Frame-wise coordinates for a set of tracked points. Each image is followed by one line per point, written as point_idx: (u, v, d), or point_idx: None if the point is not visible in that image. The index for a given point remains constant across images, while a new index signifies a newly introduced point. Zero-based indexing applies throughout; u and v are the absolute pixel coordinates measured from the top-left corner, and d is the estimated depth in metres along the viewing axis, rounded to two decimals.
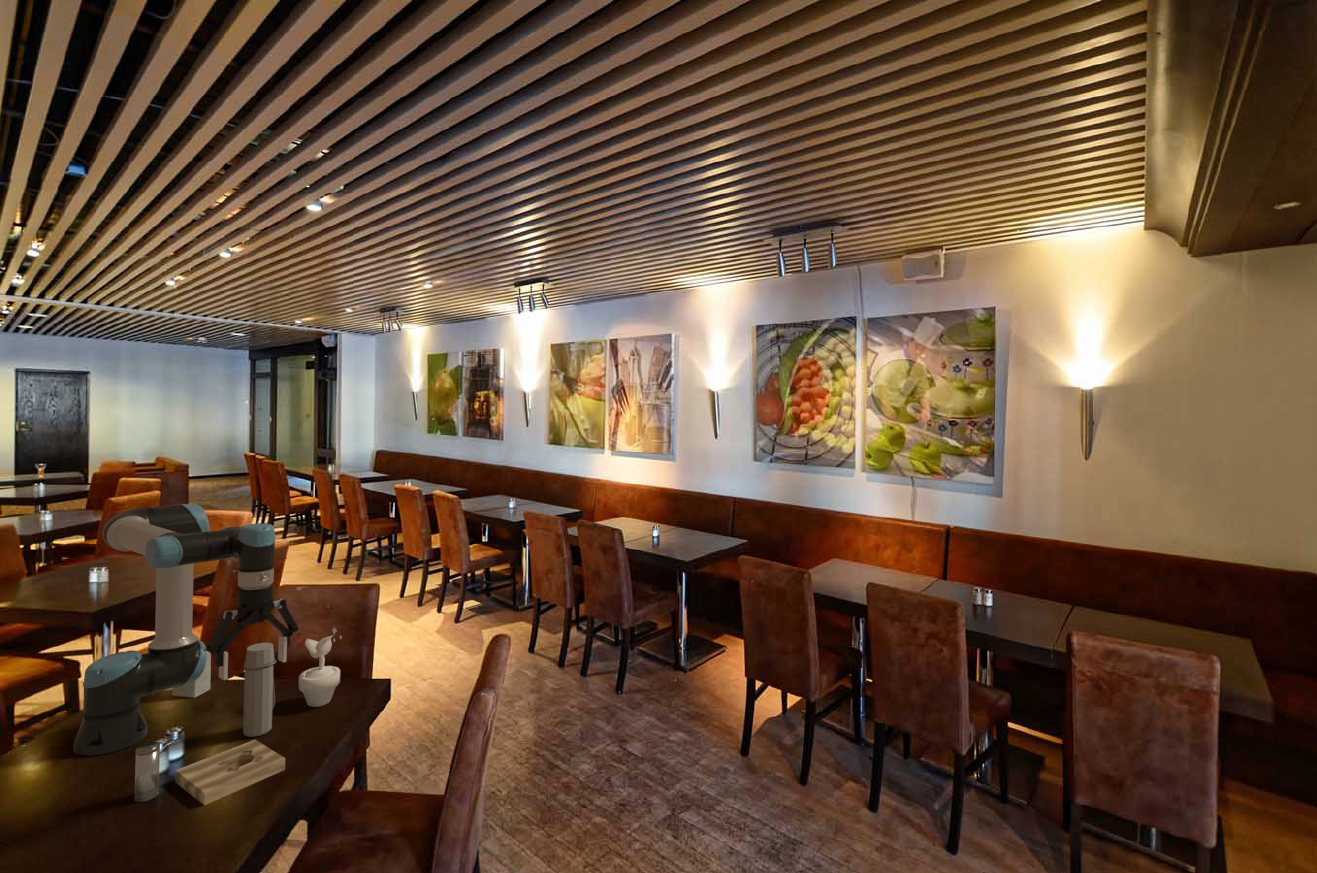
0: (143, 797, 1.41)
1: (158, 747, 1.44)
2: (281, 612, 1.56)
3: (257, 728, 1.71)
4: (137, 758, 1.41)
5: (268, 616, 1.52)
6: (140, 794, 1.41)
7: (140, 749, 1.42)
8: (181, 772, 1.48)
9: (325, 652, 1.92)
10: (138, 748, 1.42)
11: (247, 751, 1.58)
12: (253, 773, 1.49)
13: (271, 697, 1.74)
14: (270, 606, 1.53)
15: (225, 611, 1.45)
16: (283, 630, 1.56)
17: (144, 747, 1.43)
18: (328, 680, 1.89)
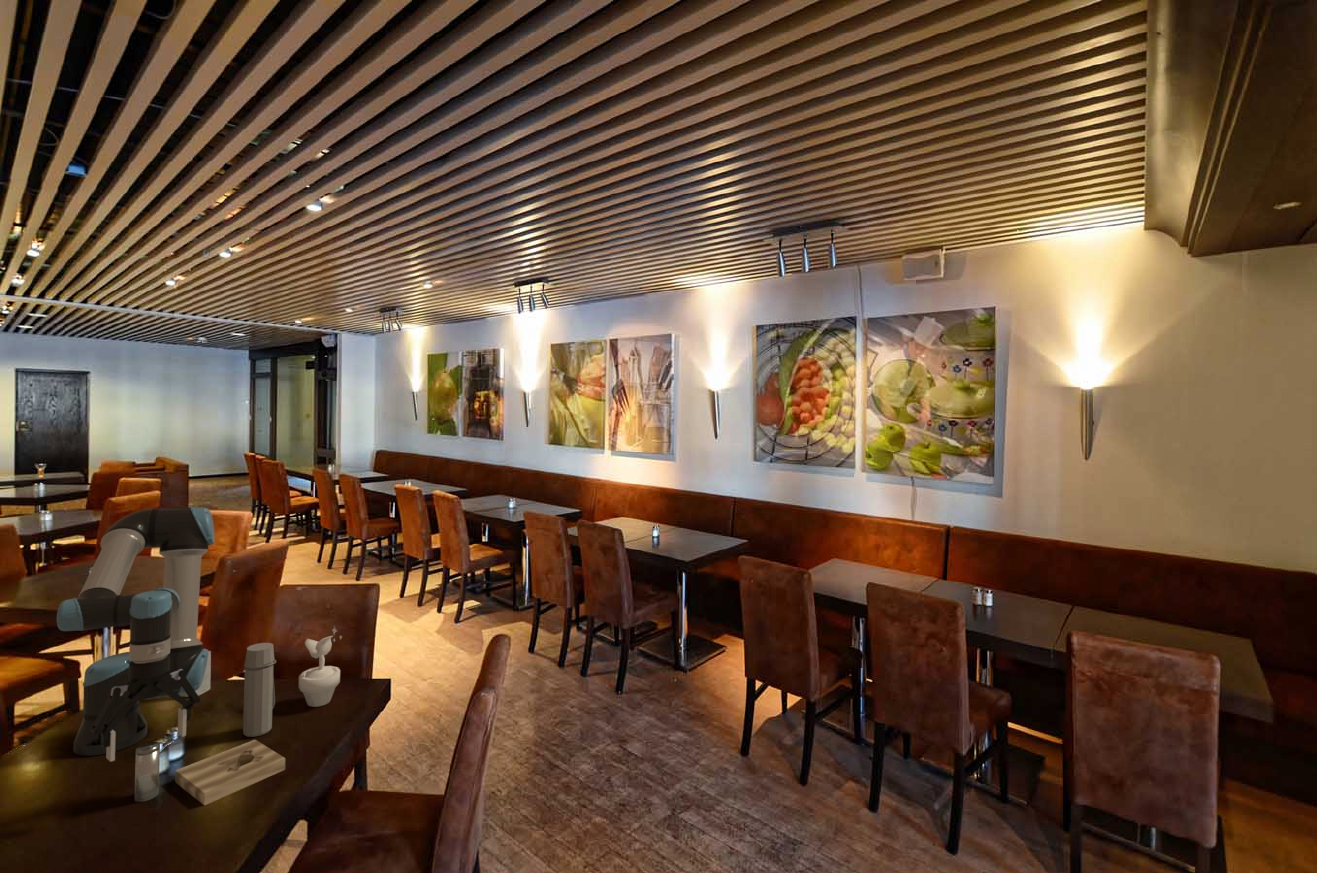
0: (143, 797, 1.41)
1: (158, 747, 1.44)
2: (180, 683, 1.48)
3: (257, 728, 1.71)
4: (137, 758, 1.41)
5: (163, 689, 1.44)
6: (140, 794, 1.41)
7: (140, 749, 1.42)
8: (181, 772, 1.48)
9: (325, 652, 1.92)
10: (138, 748, 1.42)
11: (247, 751, 1.58)
12: (253, 773, 1.49)
13: (271, 697, 1.74)
14: (166, 678, 1.45)
15: (113, 687, 1.37)
16: (182, 703, 1.47)
17: (144, 747, 1.43)
18: (328, 680, 1.89)
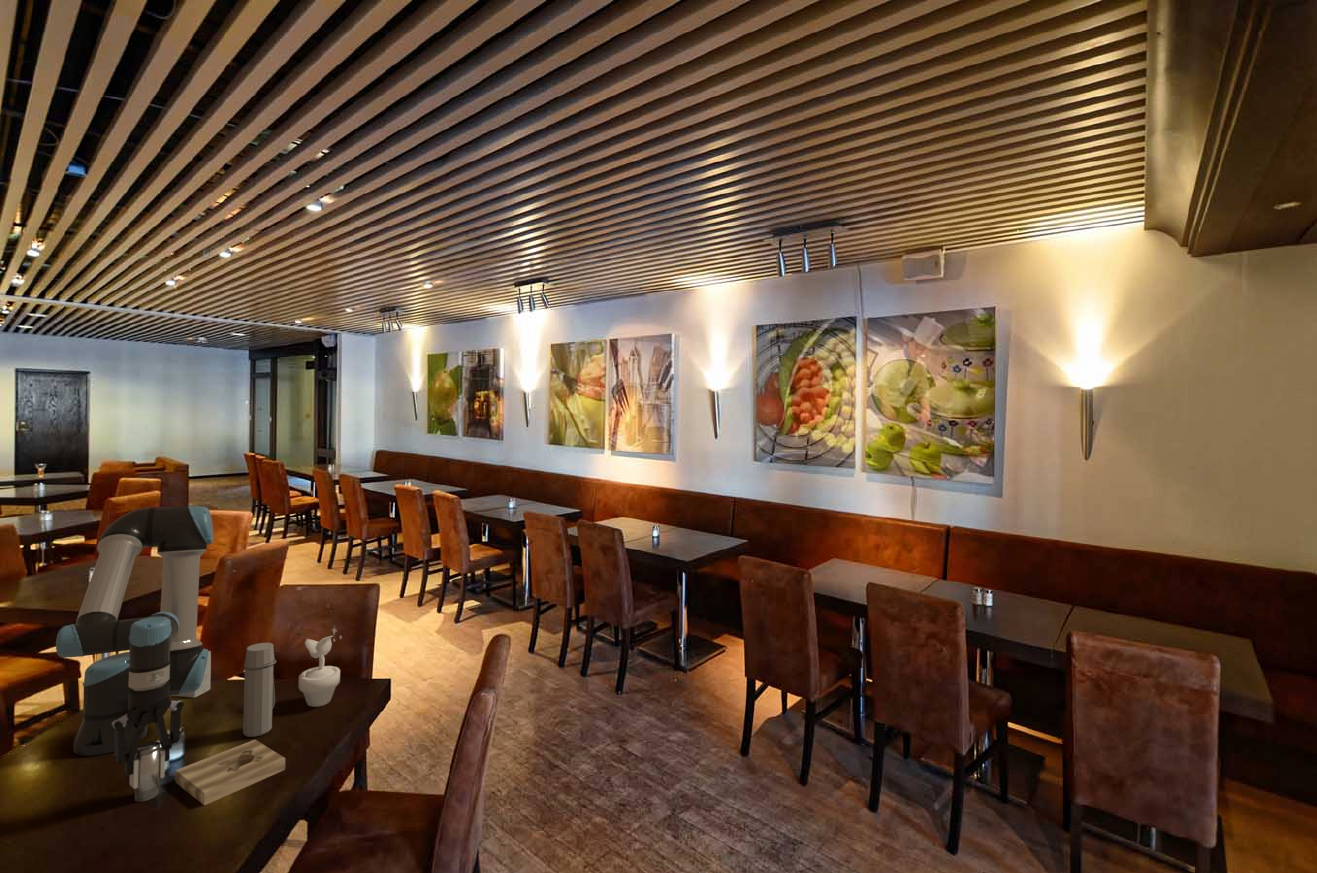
0: (143, 797, 1.41)
1: (158, 747, 1.44)
2: (172, 716, 1.47)
3: (257, 728, 1.71)
4: (137, 758, 1.41)
5: (159, 718, 1.43)
6: (140, 794, 1.41)
7: (140, 749, 1.42)
8: (181, 772, 1.48)
9: (325, 652, 1.92)
10: (138, 748, 1.42)
11: (247, 751, 1.58)
12: (253, 773, 1.49)
13: (271, 697, 1.74)
14: (166, 704, 1.45)
15: (112, 722, 1.38)
16: (164, 740, 1.45)
17: (144, 747, 1.43)
18: (328, 680, 1.89)
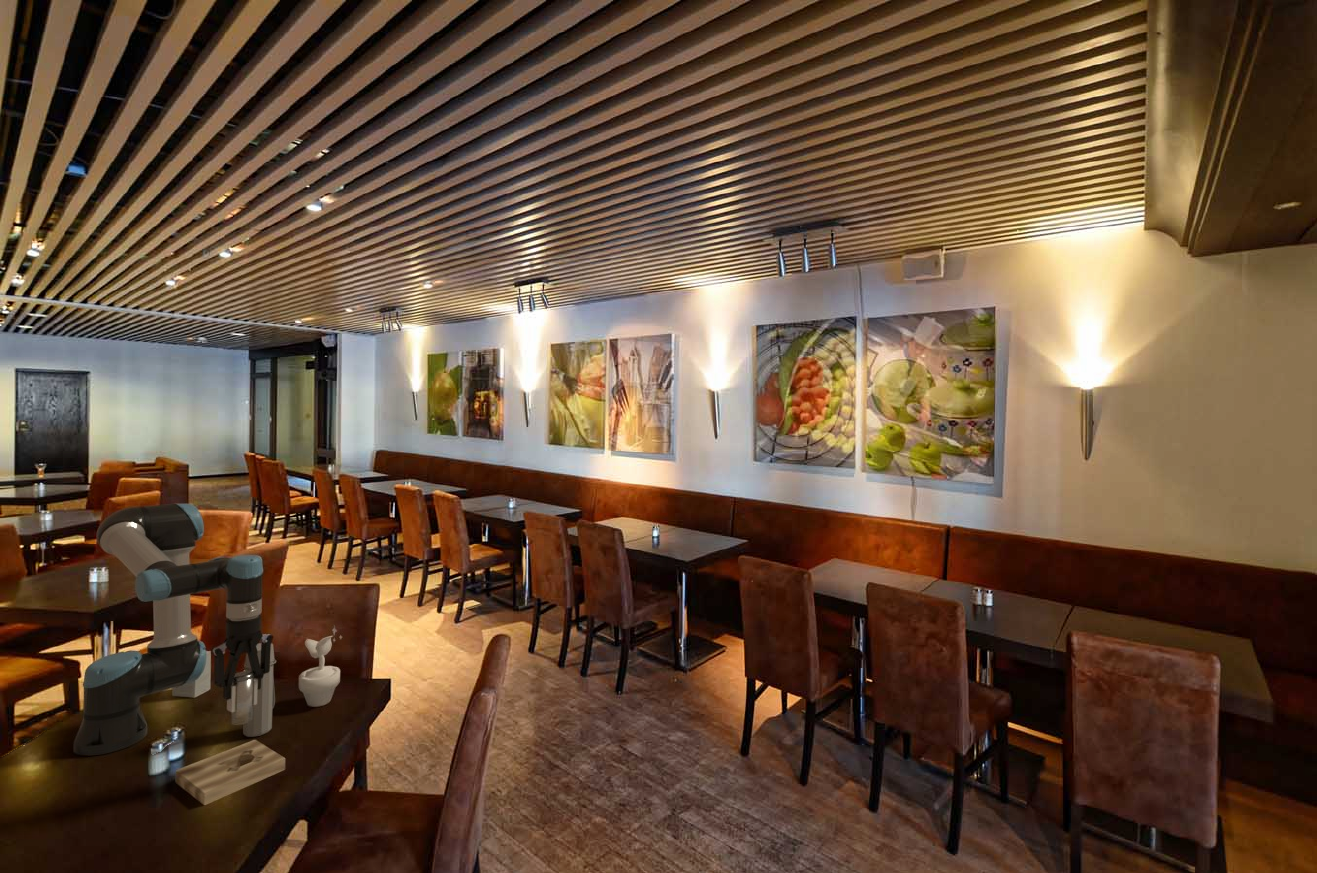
0: (240, 721, 1.52)
1: (252, 675, 1.54)
2: (263, 648, 1.58)
3: (257, 728, 1.71)
4: (234, 684, 1.51)
5: (252, 648, 1.54)
6: (237, 718, 1.51)
7: (236, 676, 1.52)
8: (181, 772, 1.48)
9: (325, 652, 1.92)
10: None
11: (247, 751, 1.58)
12: (253, 773, 1.49)
13: (271, 697, 1.74)
14: (258, 636, 1.55)
15: (213, 649, 1.48)
16: (257, 669, 1.55)
17: (240, 675, 1.53)
18: (328, 680, 1.89)
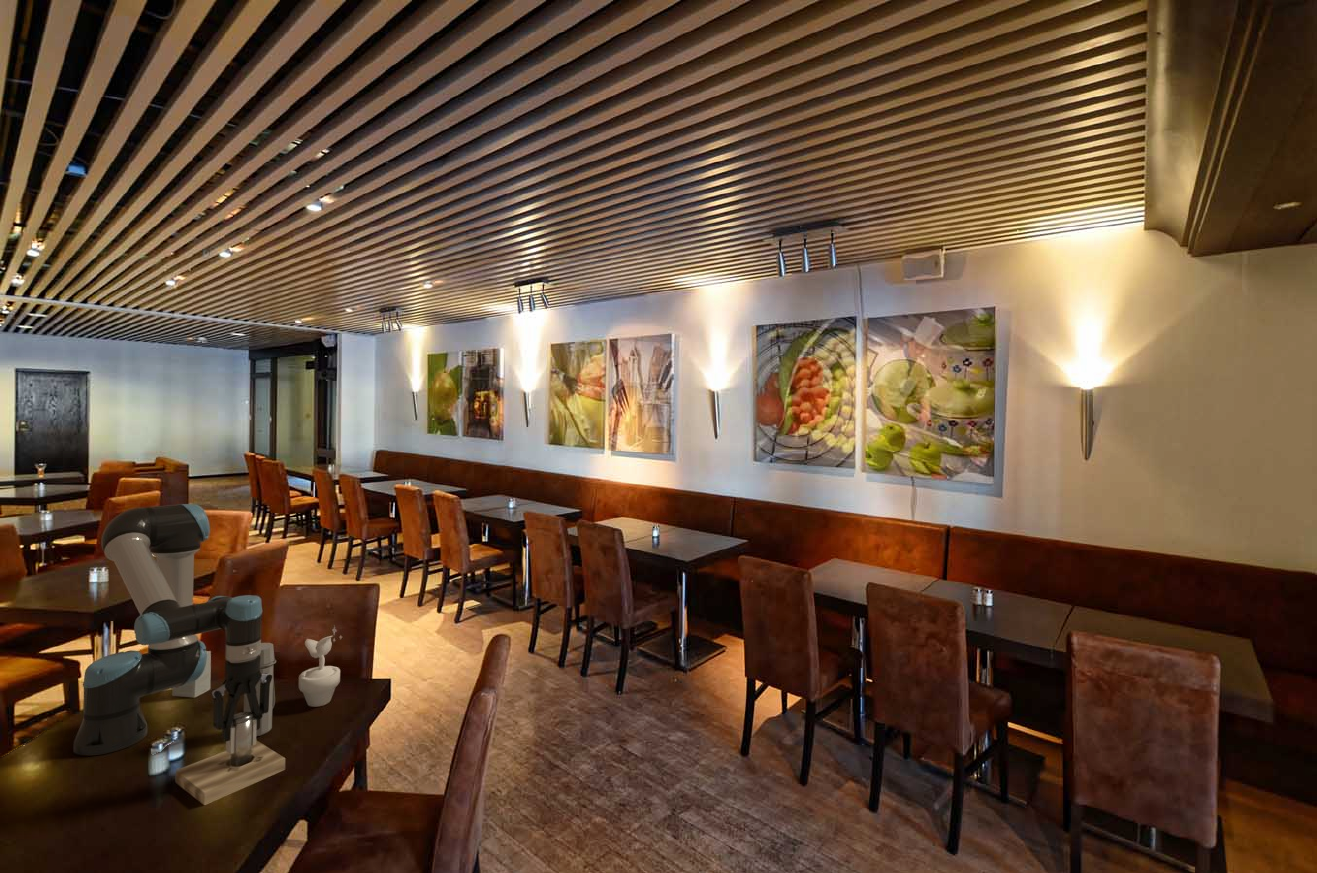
0: (239, 762, 1.52)
1: (251, 716, 1.54)
2: (262, 687, 1.58)
3: None
4: (233, 726, 1.52)
5: (251, 689, 1.54)
6: (236, 760, 1.52)
7: (235, 718, 1.52)
8: (181, 772, 1.48)
9: (325, 652, 1.92)
10: None
11: None
12: (253, 773, 1.49)
13: (271, 697, 1.74)
14: (257, 676, 1.56)
15: (212, 692, 1.48)
16: (255, 710, 1.55)
17: (239, 716, 1.53)
18: (328, 680, 1.89)
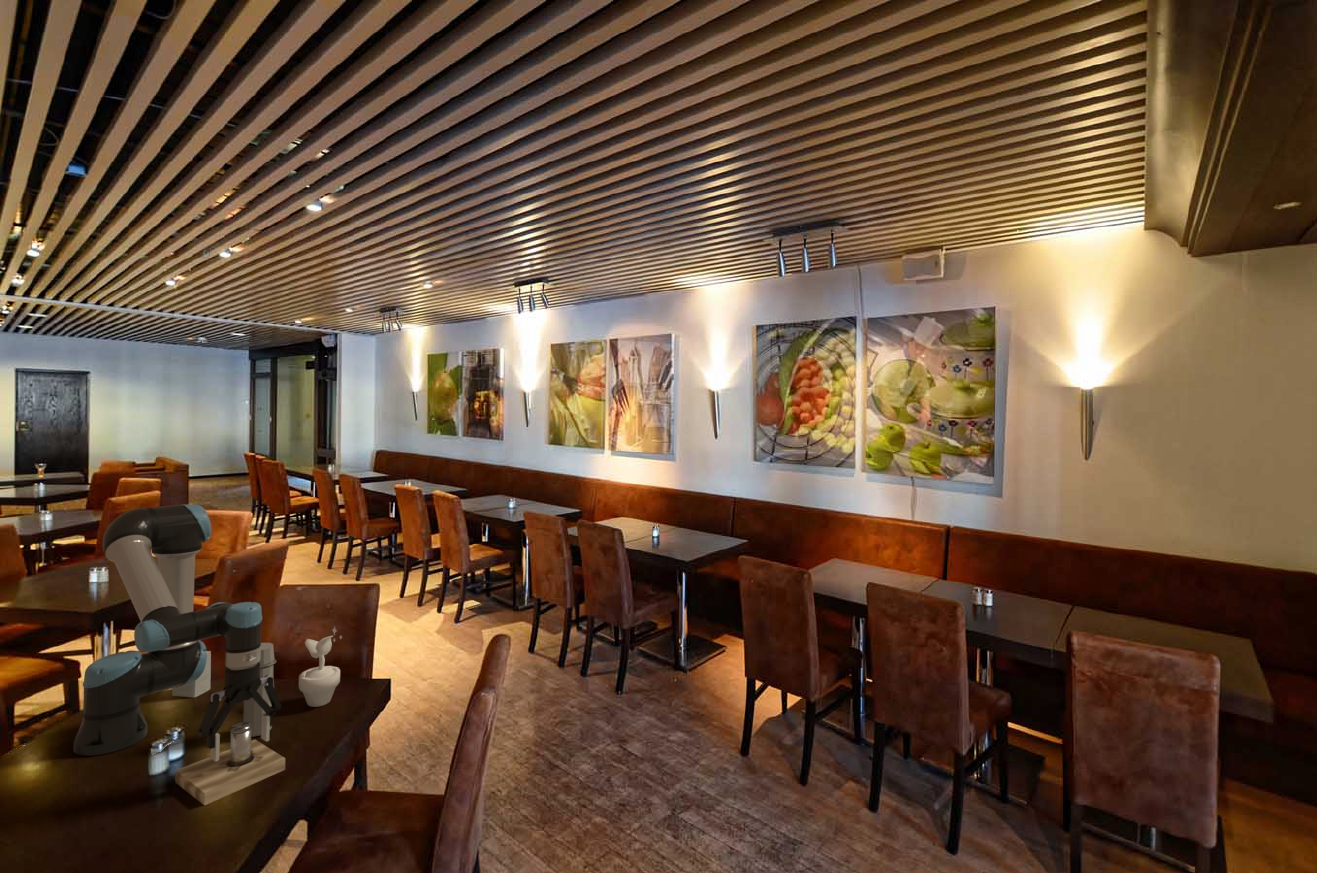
0: None
1: (250, 727, 1.54)
2: (267, 689, 1.59)
3: (257, 728, 1.71)
4: (232, 737, 1.52)
5: (254, 694, 1.55)
6: None
7: (235, 728, 1.52)
8: (181, 772, 1.48)
9: (325, 652, 1.92)
10: (233, 727, 1.53)
11: None
12: (253, 773, 1.49)
13: None
14: (257, 683, 1.56)
15: (212, 694, 1.48)
16: (266, 709, 1.58)
17: (238, 727, 1.53)
18: (328, 680, 1.89)
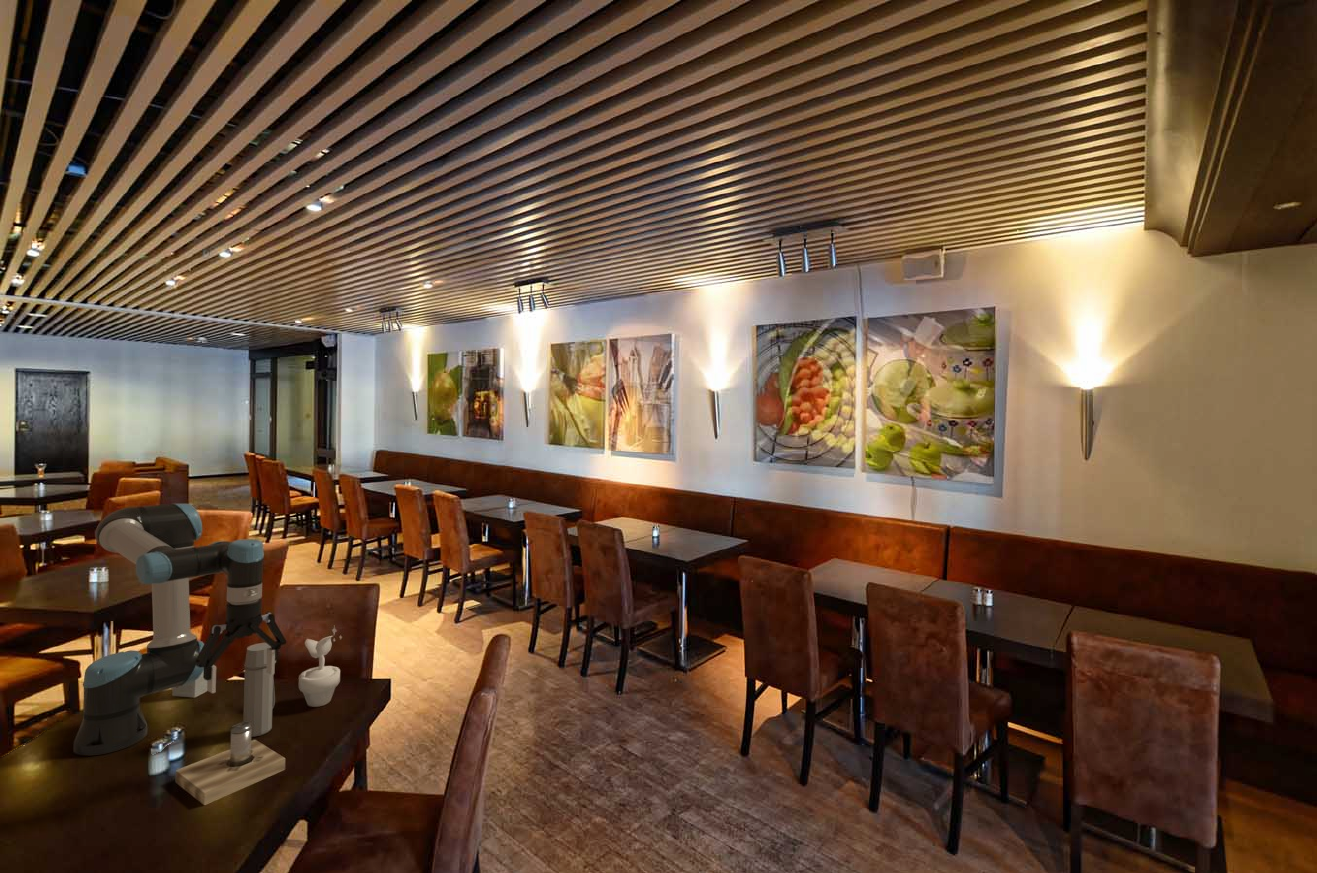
0: None
1: (250, 727, 1.54)
2: (269, 626, 1.59)
3: (257, 728, 1.71)
4: (232, 737, 1.52)
5: (256, 630, 1.55)
6: None
7: (235, 728, 1.52)
8: (181, 772, 1.48)
9: (325, 652, 1.92)
10: (233, 727, 1.53)
11: None
12: (253, 773, 1.49)
13: (271, 697, 1.74)
14: (258, 620, 1.56)
15: (214, 626, 1.49)
16: (271, 643, 1.59)
17: (238, 727, 1.53)
18: (328, 680, 1.89)
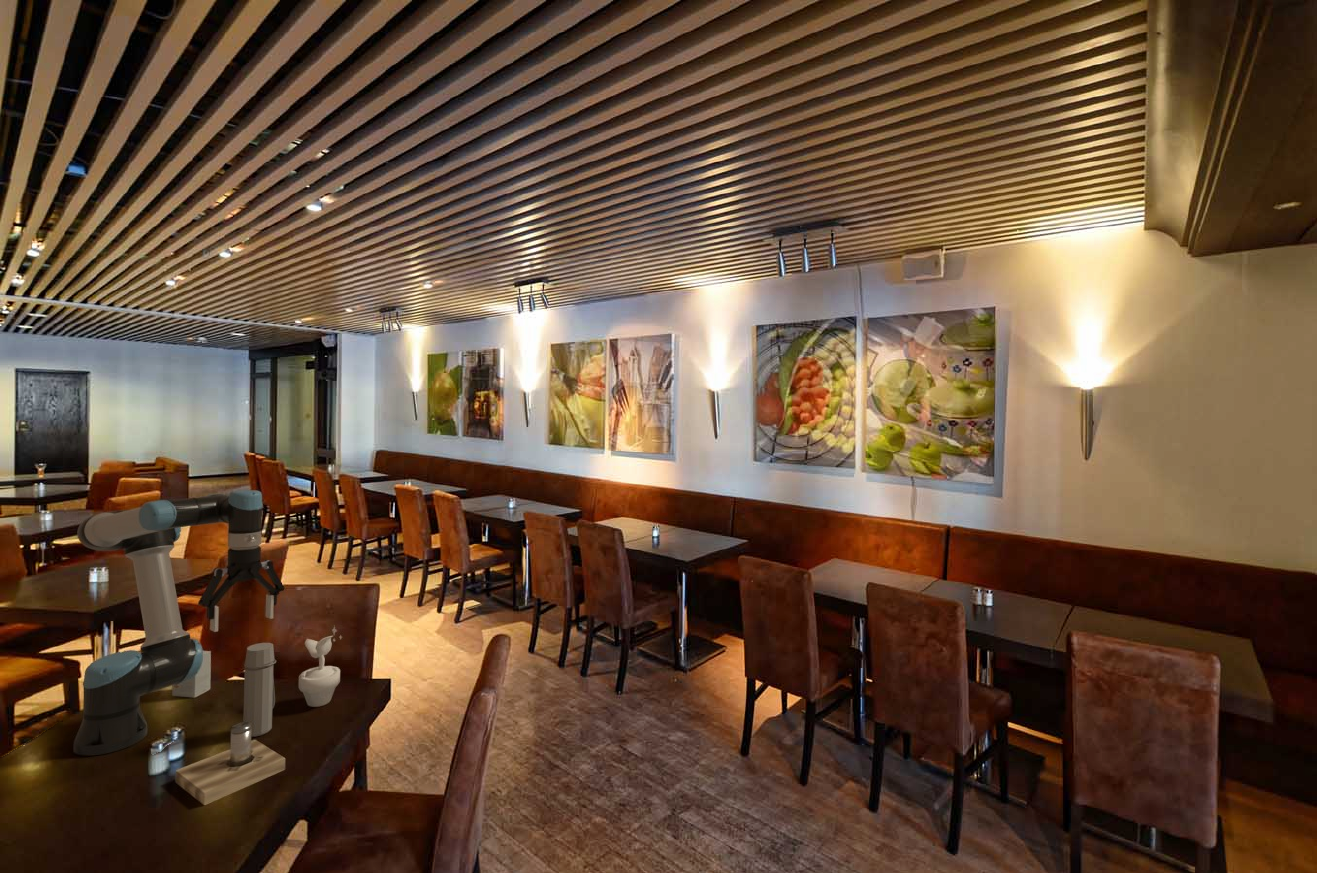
0: None
1: (250, 727, 1.54)
2: (268, 572, 1.69)
3: (257, 728, 1.71)
4: (232, 737, 1.52)
5: (256, 575, 1.65)
6: None
7: (235, 728, 1.52)
8: (181, 772, 1.48)
9: (325, 652, 1.92)
10: (233, 727, 1.53)
11: None
12: (253, 773, 1.49)
13: (271, 697, 1.74)
14: (258, 566, 1.66)
15: (216, 569, 1.58)
16: (270, 589, 1.69)
17: (238, 727, 1.53)
18: (328, 680, 1.89)
